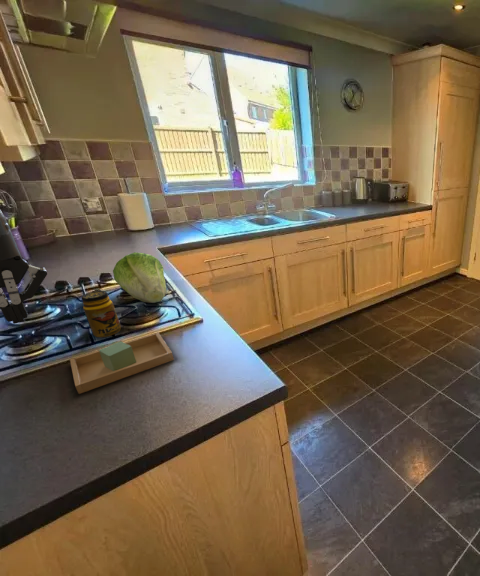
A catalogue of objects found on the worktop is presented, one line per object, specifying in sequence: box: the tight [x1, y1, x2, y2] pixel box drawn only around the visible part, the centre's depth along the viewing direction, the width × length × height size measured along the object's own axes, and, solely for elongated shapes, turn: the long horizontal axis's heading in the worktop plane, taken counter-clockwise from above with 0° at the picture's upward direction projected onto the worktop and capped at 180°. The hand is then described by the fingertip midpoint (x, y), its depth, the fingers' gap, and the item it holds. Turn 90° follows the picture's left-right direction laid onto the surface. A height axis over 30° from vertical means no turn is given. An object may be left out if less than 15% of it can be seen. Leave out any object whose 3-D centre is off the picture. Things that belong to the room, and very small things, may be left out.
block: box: [99, 340, 136, 371], centre depth 76 cm, size 4×4×4 cm
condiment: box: [81, 290, 122, 338], centre depth 88 cm, size 7×8×12 cm
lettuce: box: [112, 251, 167, 304], centre depth 110 cm, size 14×24×14 cm
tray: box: [69, 332, 175, 395], centre depth 78 cm, size 18×13×3 cm
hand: (18, 321), depth 63 cm, fingers closed
